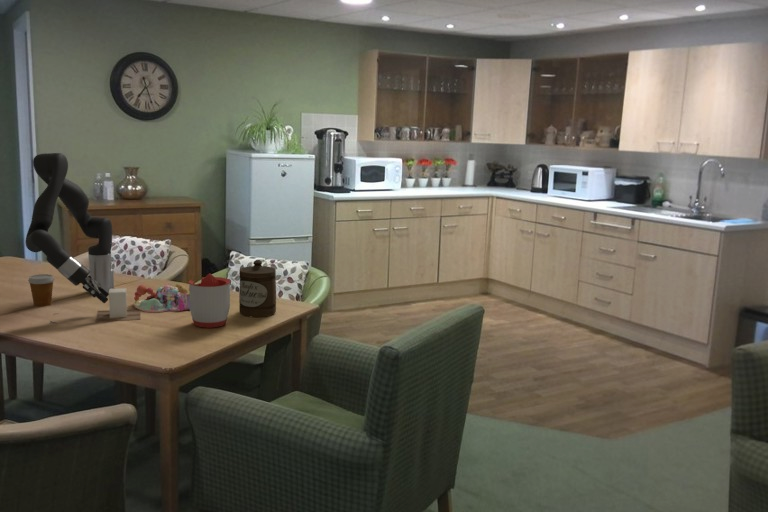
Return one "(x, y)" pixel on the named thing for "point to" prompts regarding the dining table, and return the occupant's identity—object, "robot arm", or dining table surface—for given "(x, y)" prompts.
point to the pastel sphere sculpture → (163, 299)
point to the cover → (118, 302)
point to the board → (105, 317)
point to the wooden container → (257, 290)
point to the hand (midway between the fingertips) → (106, 298)
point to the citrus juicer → (209, 301)
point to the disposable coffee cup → (41, 289)
